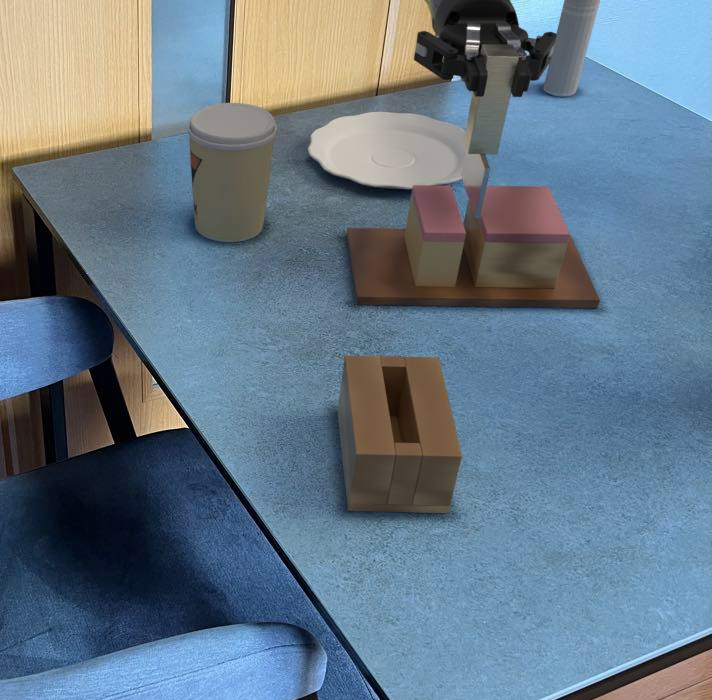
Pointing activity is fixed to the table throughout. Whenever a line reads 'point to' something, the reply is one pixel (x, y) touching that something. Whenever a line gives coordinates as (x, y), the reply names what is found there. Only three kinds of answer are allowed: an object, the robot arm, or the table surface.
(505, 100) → the knife
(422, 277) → the cake slice
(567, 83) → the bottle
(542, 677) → the table surface
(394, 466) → the knife block
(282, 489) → the table surface
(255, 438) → the table surface
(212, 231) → the coffee cup
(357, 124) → the plate
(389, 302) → the cake
